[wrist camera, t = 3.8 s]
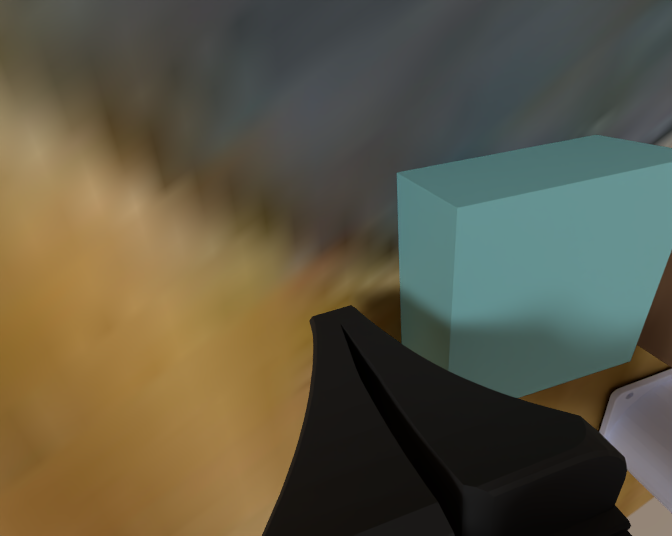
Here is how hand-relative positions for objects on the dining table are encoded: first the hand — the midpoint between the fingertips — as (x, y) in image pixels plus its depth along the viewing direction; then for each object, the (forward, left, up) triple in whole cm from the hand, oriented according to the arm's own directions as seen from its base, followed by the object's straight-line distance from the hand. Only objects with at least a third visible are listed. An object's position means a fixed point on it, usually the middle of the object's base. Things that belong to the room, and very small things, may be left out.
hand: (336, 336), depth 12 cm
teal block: (-7, 0, -3) cm, 8 cm away
